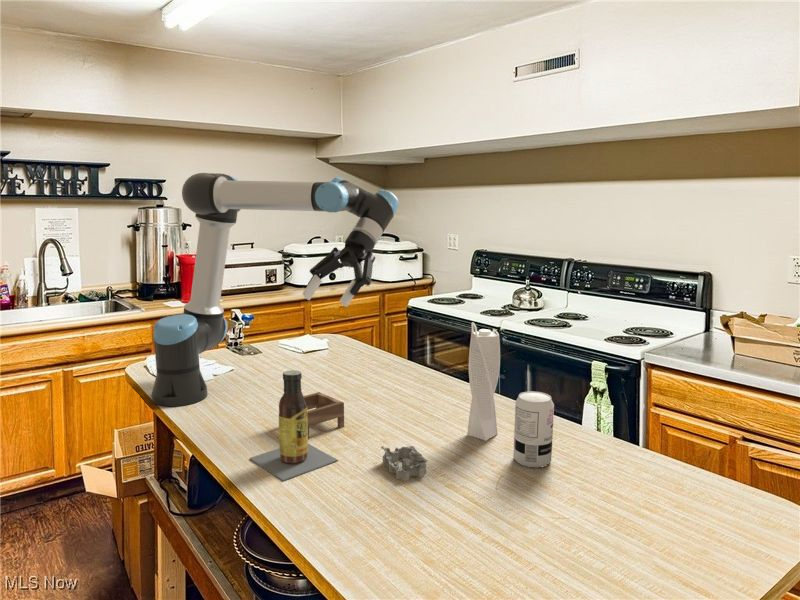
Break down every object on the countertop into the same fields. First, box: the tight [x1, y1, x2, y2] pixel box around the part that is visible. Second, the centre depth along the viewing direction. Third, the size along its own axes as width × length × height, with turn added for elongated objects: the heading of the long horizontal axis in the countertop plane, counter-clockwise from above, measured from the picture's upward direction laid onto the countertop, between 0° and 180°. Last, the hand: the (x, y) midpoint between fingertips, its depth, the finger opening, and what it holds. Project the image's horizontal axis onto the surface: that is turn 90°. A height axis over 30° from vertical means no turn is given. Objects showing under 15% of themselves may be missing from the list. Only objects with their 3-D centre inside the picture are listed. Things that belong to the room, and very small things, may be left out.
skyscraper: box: [466, 321, 501, 442], centre depth 144 cm, size 8×8×28 cm
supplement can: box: [513, 390, 555, 468], centre depth 131 cm, size 8×8×15 cm
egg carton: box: [380, 445, 429, 482], centre depth 128 cm, size 11×8×4 cm
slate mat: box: [249, 443, 339, 482], centre depth 132 cm, size 14×14×1 cm
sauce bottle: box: [278, 369, 309, 464], centre depth 130 cm, size 7×6×20 cm
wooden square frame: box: [303, 391, 345, 439], centre depth 150 cm, size 11×12×6 cm
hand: (324, 300), depth 152 cm, fingers open, 13 cm apart
